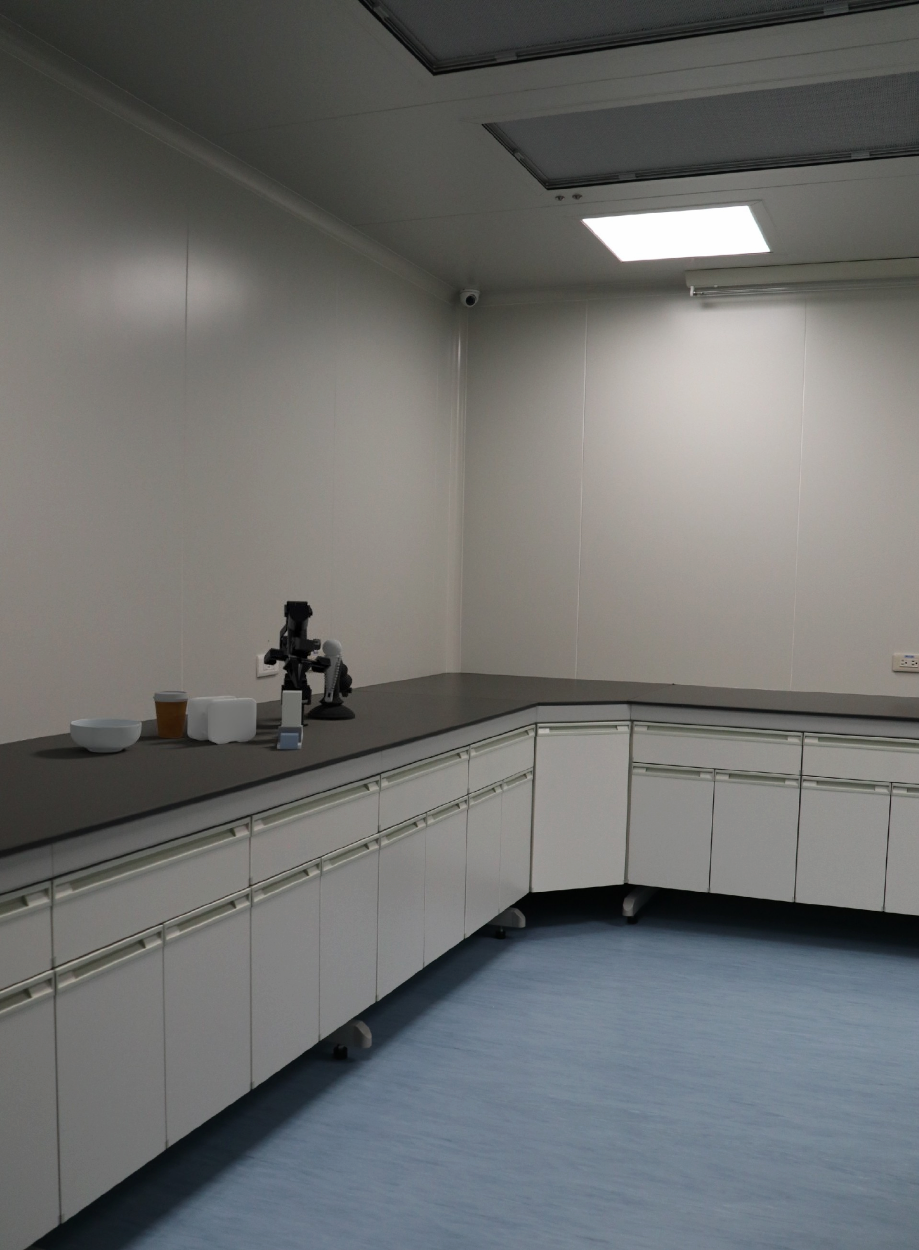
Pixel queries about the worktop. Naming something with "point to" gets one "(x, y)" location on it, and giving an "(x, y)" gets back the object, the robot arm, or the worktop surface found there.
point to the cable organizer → (222, 719)
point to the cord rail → (290, 737)
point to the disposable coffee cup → (170, 712)
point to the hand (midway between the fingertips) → (298, 687)
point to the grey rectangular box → (291, 708)
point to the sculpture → (334, 687)
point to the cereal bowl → (105, 733)
